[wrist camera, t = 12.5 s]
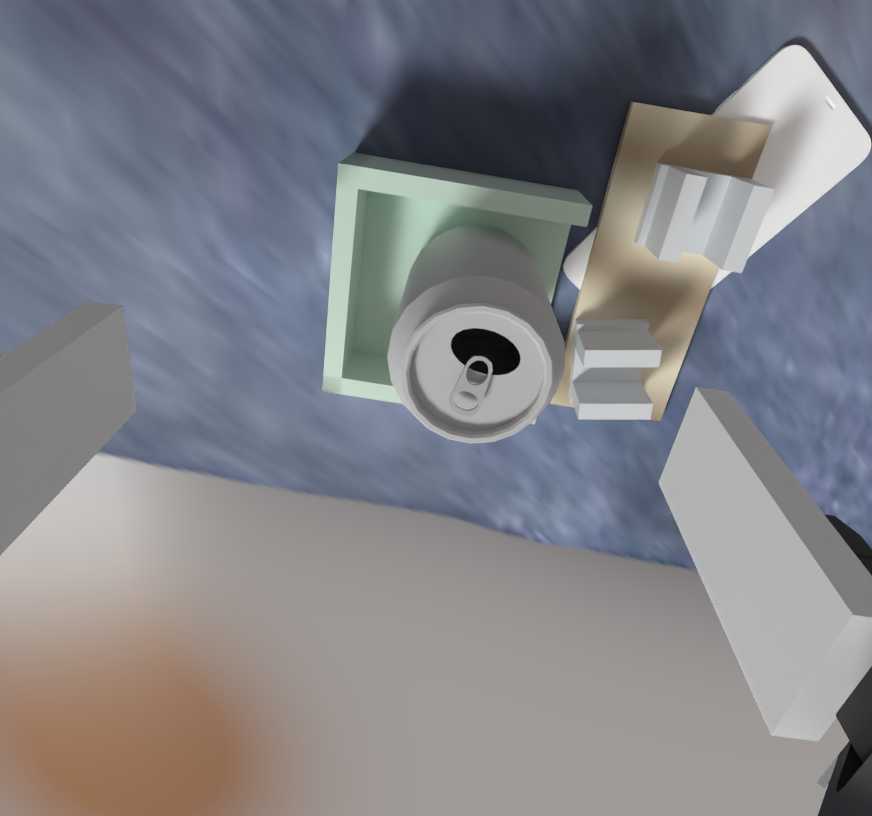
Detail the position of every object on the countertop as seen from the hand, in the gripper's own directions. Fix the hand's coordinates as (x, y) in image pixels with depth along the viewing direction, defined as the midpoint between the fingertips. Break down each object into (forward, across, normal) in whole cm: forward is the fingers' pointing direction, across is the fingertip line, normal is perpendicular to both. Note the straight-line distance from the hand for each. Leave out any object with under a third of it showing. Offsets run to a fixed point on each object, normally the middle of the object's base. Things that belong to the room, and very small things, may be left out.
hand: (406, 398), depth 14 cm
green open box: (+22, +1, -4) cm, 22 cm away
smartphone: (+22, +14, +2) cm, 27 cm away
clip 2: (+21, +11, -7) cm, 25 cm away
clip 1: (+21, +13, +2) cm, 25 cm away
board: (+22, +12, -2) cm, 25 cm away
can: (+21, +2, -4) cm, 22 cm away
